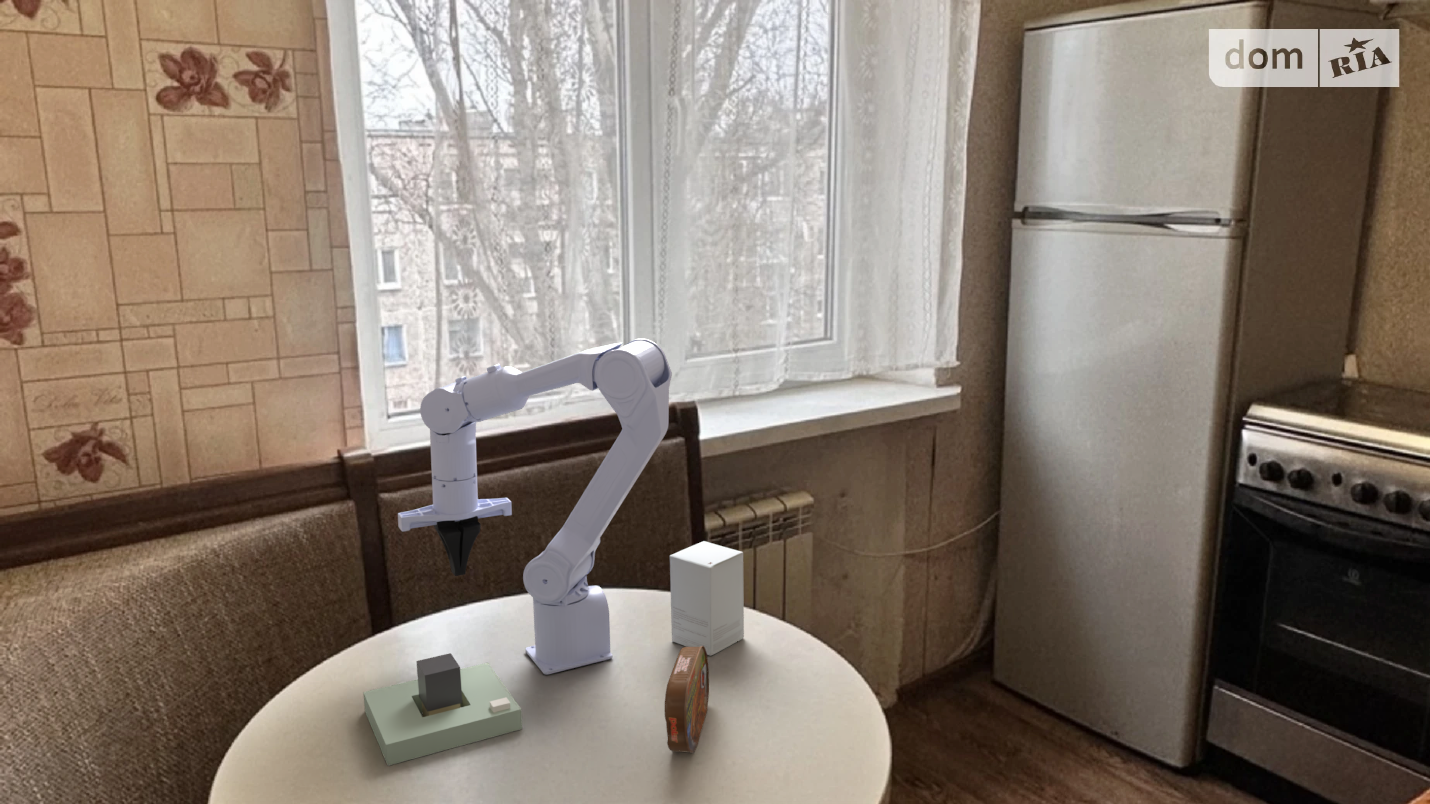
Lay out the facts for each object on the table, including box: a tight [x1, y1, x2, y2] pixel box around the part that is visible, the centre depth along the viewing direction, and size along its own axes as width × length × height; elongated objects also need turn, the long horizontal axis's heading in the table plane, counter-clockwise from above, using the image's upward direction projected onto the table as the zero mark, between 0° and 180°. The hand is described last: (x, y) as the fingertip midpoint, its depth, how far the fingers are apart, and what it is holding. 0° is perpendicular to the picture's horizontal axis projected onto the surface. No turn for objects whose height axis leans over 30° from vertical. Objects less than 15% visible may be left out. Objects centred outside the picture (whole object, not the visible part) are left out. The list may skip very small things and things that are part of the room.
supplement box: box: [669, 540, 745, 656], centre depth 135 cm, size 7×7×13 cm
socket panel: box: [362, 662, 523, 766], centre depth 116 cm, size 15×13×3 cm
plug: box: [416, 653, 462, 717], centre depth 116 cm, size 4×4×7 cm
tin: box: [664, 646, 710, 754], centre depth 114 cm, size 15×3×8 cm, turn 172°
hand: (458, 572), depth 133 cm, fingers closed
